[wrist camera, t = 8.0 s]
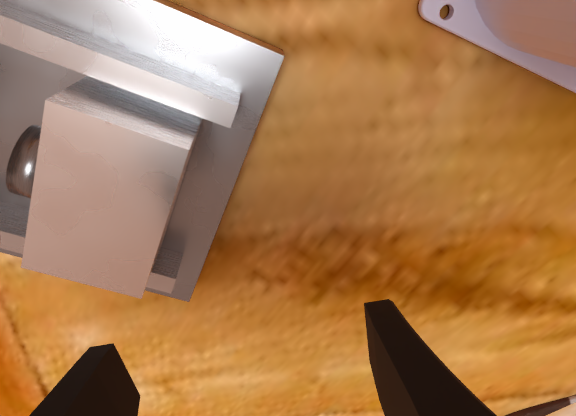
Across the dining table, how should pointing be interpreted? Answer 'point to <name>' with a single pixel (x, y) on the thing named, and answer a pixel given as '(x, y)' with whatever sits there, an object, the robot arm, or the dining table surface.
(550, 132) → the dining table surface
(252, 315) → the dining table surface
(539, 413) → the fork
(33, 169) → the ram
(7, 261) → the dining table surface
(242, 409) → the dining table surface
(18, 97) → the press frame
